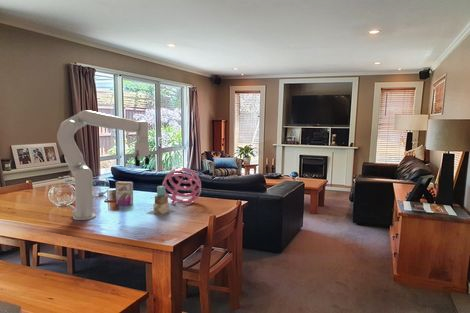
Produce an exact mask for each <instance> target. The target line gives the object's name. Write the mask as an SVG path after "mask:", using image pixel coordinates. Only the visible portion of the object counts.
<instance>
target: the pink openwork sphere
mask: <svg viewBox="0 0 470 313" xmlns="http://www.w3.org/2000/svg"><path fill="white" fill-rule="evenodd" d="M183 172H186V173H183ZM187 173H189V174H187ZM173 177H174V178H175V180H176V181H178V182H177V183H176V182H174V180H173ZM180 177H181V178H180ZM184 177H185V178H187V179H184ZM167 180H168V182H169V184H170V185H171V186H172V187H173V188H174V189H172V188H171V187H170V186H169V185H168V183H167ZM193 181H194V182H195V183H194V184H193ZM181 184H190V186H181ZM161 186H165V189H166V190H167V191H168V192H170V194H171V195H170V194H169V193H168V192H167V191H166V190H165V195H168V198H169V199H170V201H171V204H172V205H173V206H176V205H177V204H178V203H181V205H183V206H190V205H192V204H193V203H194V202H195V200H196V199H198V197H200V195H201V193H202V181H201V179H200V177H199V176H198V174H197V173H196V172H195V171H194V170H192V169H190V168H188V167H176V168H174V169H172V170H171V171H169V172H167V174H166V175H165V177H164V179H163V181H162V185H161ZM196 187H198V188H197V189H196ZM195 189H196V190H195ZM179 190H180V191H191V192H190V193H181V192H178V191H179ZM177 197H181V198H188V199H180V198H177ZM189 197H191V198H189Z"/></svg>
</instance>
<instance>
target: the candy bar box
mask: <svg viewBox="0 0 470 313" xmlns="http://www.w3.org/2000/svg"><path fill="white" fill-rule="evenodd" d="M133 204H134V182H133V181H120V180H119V181H115V205H117V206H133Z"/></svg>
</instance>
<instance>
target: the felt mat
mask: <svg viewBox="0 0 470 313" xmlns="http://www.w3.org/2000/svg"><path fill="white" fill-rule="evenodd" d="M175 212H176V210H174V209H169V212H166V213H164V214H159V213H154V209H153V210H151V211H148V212H146V213H145V214H148V215H153V216H161V217H165V216H167V215H170V214H172V213H175Z"/></svg>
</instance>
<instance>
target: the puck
mask: <svg viewBox="0 0 470 313" xmlns="http://www.w3.org/2000/svg"><path fill="white" fill-rule="evenodd" d="M165 191H166V187H165V185H164V186H162V185H157V187H156V193H157V194H156V195H157V196H165V195H166V194H165Z"/></svg>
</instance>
